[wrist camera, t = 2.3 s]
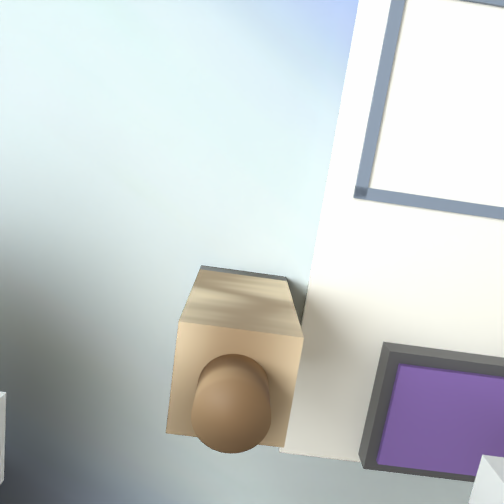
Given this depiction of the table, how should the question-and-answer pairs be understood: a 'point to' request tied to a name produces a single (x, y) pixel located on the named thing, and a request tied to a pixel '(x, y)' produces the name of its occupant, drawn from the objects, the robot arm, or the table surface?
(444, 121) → the sheet
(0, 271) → the table surface
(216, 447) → the stamp
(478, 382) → the ink pad
